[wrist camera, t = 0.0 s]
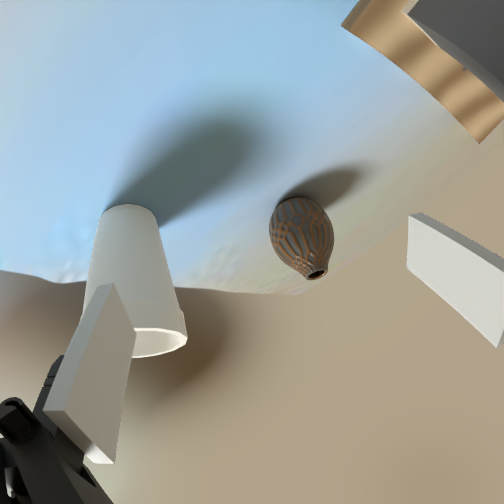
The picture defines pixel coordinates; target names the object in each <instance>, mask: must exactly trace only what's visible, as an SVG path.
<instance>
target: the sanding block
mask: <svg viewBox="0 0 504 504" xmlns="http://www.w3.org/2000/svg"><path fill="white" fill-rule="evenodd" d="M401 12H402V13H403V14H404V15H405V16H407V17H408V18H409V19H410V20H411V21H412V22H413V23H414V24H415V25H416V26H417V27H418V28H419V29H420V30H421V31H422V32H423V33H424V34H425V35H426V36H427V37H428V38H429V39H430V40H431V41H432V42H433V43H434V44H435V45H437V46H438V47H439V48H441V49H442V50H443V51H445V52H446V53H447V54H449V55H450V56H451V57H453V58H454V59H455V60H457V61H458V62H459V63H460V64H462V65H463V66H464V67H465V68H466V69H468V70H469V71H470V72H471V73H472V74H474V75H475V76H476V77H477V78H478V79H479V80H481V81H482V82H483V83H484V84H485V85H486V86H487V87H488V88H489V89H490V90H491V91H493V92H494V93H495V94H496V95H497V96H498V97H499V98H500V99H501V100H502V101H503V102H504V0H409V1H408V2H407V4H406V5H405V6H404V7H403V9H402V10H401Z"/></svg>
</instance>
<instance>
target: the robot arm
mask: <svg viewBox="0 0 504 504" xmlns="http://www.w3.org/2000/svg"><path fill="white" fill-rule="evenodd" d="M407 269H408V270H410V271H411V272H412V273H413V274H414V275H416V276H417V277H418V278H419V279H421V280H422V281H423V282H424V283H425V284H426V285H428V286H429V287H430V288H431V289H432V290H433V291H435V292H436V293H437V294H438V295H439V296H440V297H442V298H443V299H444V300H445V301H446V302H447V303H448V304H450V305H451V306H452V307H453V308H454V309H455V310H456V311H458V312H459V313H460V314H461V315H462V316H463V317H464V318H465V319H466V320H467V321H468V322H470V323H471V324H472V325H473V326H474V327H475V328H476V329H477V330H478V331H479V332H480V333H481V334H482V335H483V336H485V337H486V338H487V339H488V340H489V341H490V342H491V343H492V344H493V345H494V346H495V347H496V348H497V347H499V346H500V345H502V344H503V343H504V259H503V258H501V257H500V256H498V255H497V254H495V253H493V252H491V251H490V250H488V249H486V248H484V247H483V246H481V245H480V244H478V243H476V242H474V241H473V240H471V239H469V238H468V237H466V236H464V235H462V234H460V233H459V232H457V231H455V230H453V229H451V228H450V227H448V226H446V225H444V224H442V223H440V222H438V221H437V220H435V219H433V218H431V217H429V216H427V215H425V214H423V213H416V214H412V215H409V229H408V252H407ZM136 335H137V334H136V332H135V330H134V328H133V326H132V324H131V321H130V319H129V317H128V315H127V313H126V310H125V308H124V306H123V303H122V301H121V299H120V296H119V294H118V292H117V289H116V287H115V284H114V282H113V283H109V284H105V285H100V286H98V287H97V289H96V291H95V293H94V295H93V297H92V299H91V300H90V302H89V304H88V306H87V308H86V310H85V312H84V314H83V316H82V319H81V321H80V323H79V325H78V327H77V329H76V331H75V334H74V335H73V338H72V340H71V342H70V344H69V347H68V349H67V351H66V354H65V355H61V356H59V358H58V359H57V360H56V361H55V362H54V364H53V365H52V366H51V368H50V371H49V373H48V375H47V378H46V380H45V382H44V387H42V390H41V392H40V394H39V397H38V400H37V402H36V405H35V407H34V410H33V413H32V412H31V411H30V409H29V408H28V407H27V406H26V405H25V404H24V402H23V401H22V400H21V399H19V398H17V397H12V398H8V399H6V400H4V401H3V402H2V403H1V404H0V433H1V434H2V435H3V436H4V438H0V504H113V502H112V501H111V500H110V498H109V497H108V496H107V494H106V493H105V492H104V490H103V489H102V488H101V486H100V485H99V483H98V482H97V481H96V479H95V478H94V476H93V475H92V473H91V472H90V470H89V469H88V468H87V467H86V466H85V465H84V464H83V459H84V454H85V455H86V456H87V457H88V458H89V459H90V460H91V461H92V462H94V463H109V464H111V463H112V464H113V463H115V456H116V448H117V441H118V433H119V426H120V420H121V413H122V407H123V401H124V395H125V390H126V384H127V378H128V373H129V368H130V364H131V359H132V354H133V349H134V344H135V340H136ZM7 488H8V489H9V490H11V497H9V496H8V494H7Z"/></svg>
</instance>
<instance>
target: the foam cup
mask: <svg viewBox="0 0 504 504" xmlns="http://www.w3.org/2000/svg"><path fill="white" fill-rule="evenodd" d="M113 282H114V284H115V287H116V289H117V292H118V294H119V296H120V299H121V301H122V303H123V306H124V308H125V310H126V313H127V315H128V317H129V319H130V321H131V324H132V326H133V328H134V330H135V332H136V334H137V335H136V340H135V344H134V349H133V354H132V358H140V357H147V356H155V355H159V354H163V353H167V352H170V351H173V350H175V349H177V348H179V347H181V346H183V345H185V343H186V340H187V332H186V326H185V320H184V314H183V312H182V311H181V310H180V308H179V304H178V301H177V297H176V294H175V290H174V287H173V283H172V279H171V276H170V272H169V268H168V264H167V261H166V257H165V253H164V249H163V245H162V241H161V237H160V232H159V228H158V224H157V222H156V218H155V216H154V215H153V213H152V212H151V211H150V210H148V209H146V208H144V207H142V206H140V205H133V204H123V205H117V206H113V207H111V208H110V209H108V210H106V211H105V212H103V214H102V216H101V217H100V219H99V223H98V225H97V230H96V234H95V239H94V244H93V249H92V255H91V260H90V266H89V272H88V278H87V285H86V292H85V299H84V308H83V314H84V312H85V310H86V308H87V306H88V304H89V302H90V300H91V299H92V297H93V295H94V293H95V291H96V289H97V287H98V286H100V285H105V284H109V283H113ZM82 316H83V315H82ZM82 316H81V318H80V321H81V319H82Z"/></svg>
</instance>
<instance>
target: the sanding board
mask: <svg viewBox="0 0 504 504" xmlns="http://www.w3.org/2000/svg"><path fill="white" fill-rule="evenodd" d="M408 1H409V0H360V1H359V2H358V3H357V5H356V6H355V7H354V9H353V10H352V11H351V12H350V14H349V15H348V16H347V18H346V19H345V20H344V22H343V23H342V25H341V26H342V27H343V28H345V29H346V30H348V31H349V32H351V33H352V34H354V35H355V36H357V37H358V38H360V39H361V40H363V41H364V42H366V43H367V44H369V45H370V46H371V47H373V48H374V49H376V50H377V51H378V52H380V53H381V54H383V55H384V56H385V57H387V58H388V59H389V60H391V61H392V62H393V63H394V64H396V65H397V66H398V67H399V68H401V69H402V70H403V71H404V72H406V73H407V74H408V75H409V76H411V77H412V78H413V79H414V80H415V81H416V82H418V83H419V84H420V85H421V86H422V87H423V88H424V89H426V90H427V91H428V92H429V93H430V94H431V95H432V96H433V97H434V98H435V99H437V100H438V101H439V102H440V103H441V104H442V105H443V106H444V107H445V108H446V109H447V110H448V111H449V112H450V113H451V114H452V115H453V116H454V117H455V118H456V119H457V120H458V121H459V122H460V123H461V124H462V125H463V126H464V127H465V129H466V130H467V131H468V132H469V133H470V134H471V135H472V136H473V137H474V138H475V140H476V141H477V142H478V143H479V144H480V143H481V142H482V141H483V140H484V139H485V138H486V137H487V136H488V135H489V134H490V133H491V131H492V130H493V129H494V128H495V127H496V126H497V125H498V124H499V123H500V122H501V121H502V120H503V119H504V102H503V101H502V100H501V99H500V98H499V97H498V96H497V95H496V94H495V93H494V92H493V91H491V90H490V89H489V88H488V87H487V86H486V85H485V84H484V83H483V82H482V81H481V80H479V79H478V78H477V77H476V76H475V75H474V74H472V73H471V72H470V71H469V70H468V69H466V68H465V67H464V66H463V65H462V64H460V63H459V62H458V61H457V60H455V59H454V58H453V57H451V56H450V55H449V54H447V53H446V52H445V51H443V50H442V49H441V48H439V47H438V46H437V45H435V44H434V43H433V42H432V41H431V40H430V39H429V38H428V37H427V36H426V35H425V34H424V33H423V32H422V31H421V30H420V29H419V28H418V27H417V26H416V25H415V24H414V23H413V22H412V21H411V20H410V19H409V18H408V17H407V16H405V15H404V14H403V13H402V12H401V10H402V9H403V7H404V6H405V5H406V4H407V2H408Z"/></svg>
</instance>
